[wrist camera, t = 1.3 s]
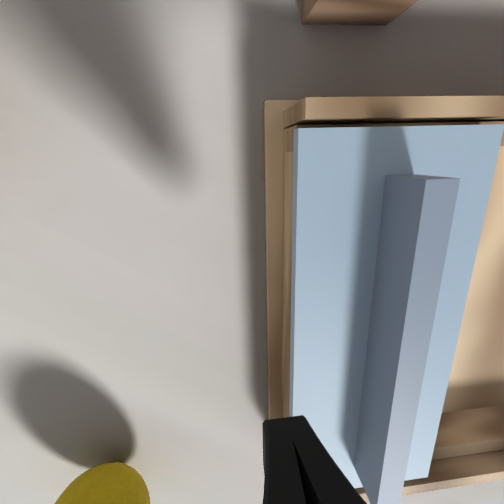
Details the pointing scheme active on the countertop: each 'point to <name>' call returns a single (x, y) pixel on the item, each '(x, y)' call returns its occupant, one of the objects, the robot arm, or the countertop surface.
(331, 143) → the lid
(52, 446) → the countertop surface
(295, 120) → the wooden tray
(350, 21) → the block
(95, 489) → the lemon
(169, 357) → the countertop surface
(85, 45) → the countertop surface
